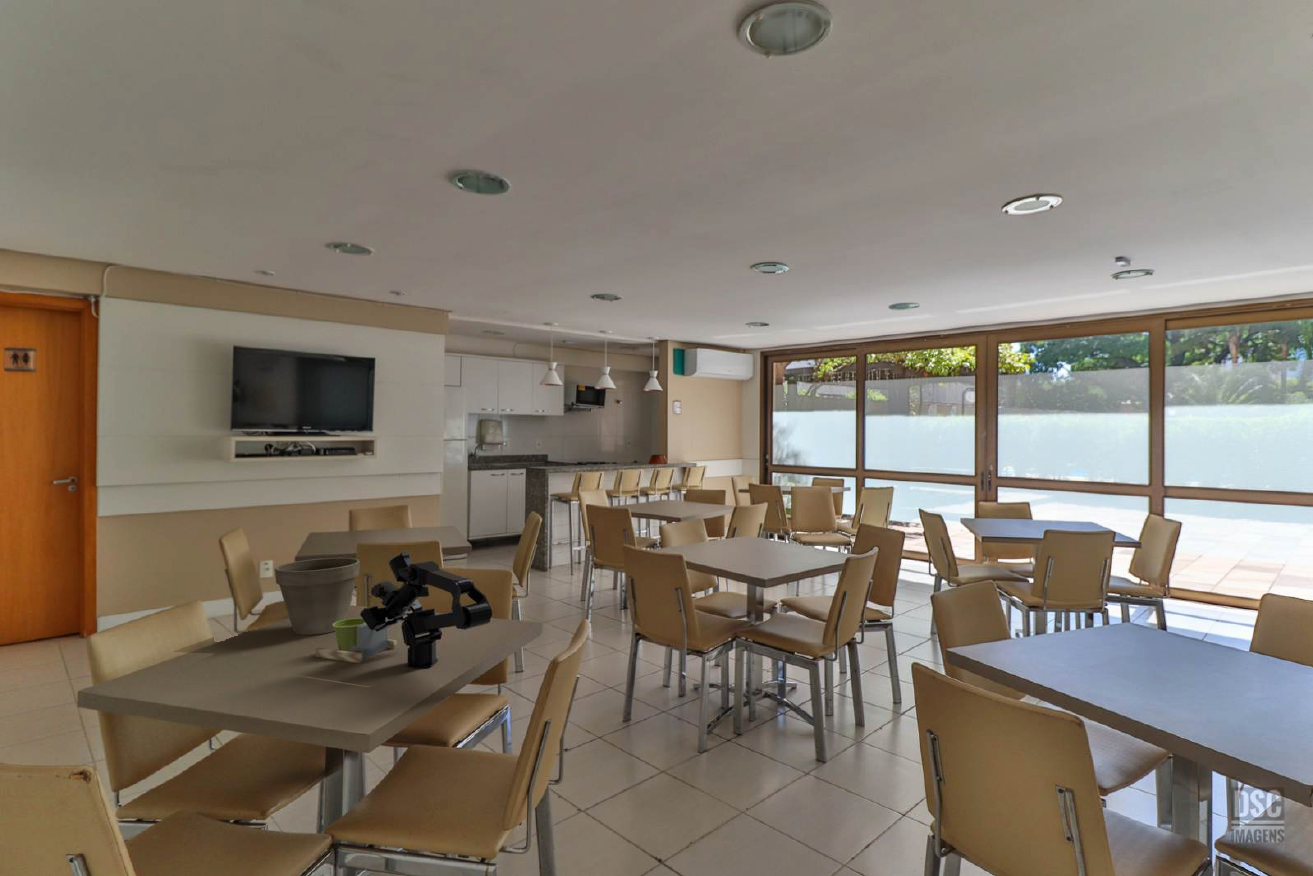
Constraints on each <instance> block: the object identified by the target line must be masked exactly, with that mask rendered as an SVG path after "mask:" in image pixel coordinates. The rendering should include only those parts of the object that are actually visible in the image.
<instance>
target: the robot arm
mask: <svg viewBox="0 0 1313 876" xmlns="http://www.w3.org/2000/svg"><path fill="white" fill-rule="evenodd" d="M388 565H389V568H390V570H391V571H392V573H393V576H394V578H395V580H396V582H397V583H399V582H401V583H402V584H401V586H399V587H398V586H397V585H395V584H394V583H393V582H391V581H387V580H385V581H382V582H378V583H376V584H374V585H373V587H371V591H370V594H371V595H372V596H374V597H375V598H379V599H380V600H382V601H381V602H380V603H381V604H382V606H385V607H382V606H381V607H378V605H371V606H368V607H364V608H363V609H362V610H361V611H360V614H359V616H360V617H361V618H363V620H364V621H365V623H366V624H367V626H368V627H369V628H370V629H371V630H376V632H378V631H381V630H383V629H385V628H387V627H388V628H390V627H392V626H394V625H397V624H398V623H400V622H401V626H400V627H401V632H402V633H401V634H402V639H403V643H404V644H405V646H406V647H408V648H407V665H406V668H413V669H414V668H419V669H420V668H424V669H426V668H431V667H432V666H434V665H435V664H436V663H437V662H438V661H439V658H437V641H440V640H442V636H443V632H442V630H441V629H443V628H451V627H456V629H458V630H464V631H465V630H470V629H473V628H477V627H480V626H481V627H482V626H485V625H489V624H490V622H491V618H492V616H493V610H492V609H493V608H492V607H491V604H490V603H489V600H488V598H487V596H486V595H485V594H484V593H483V592H481V591H480V590H479V589H478V588H477V587H476V586H475V584H474V581H473V580H472V579H471V578H468V577H463V576H460V575H457V574H455V573H451V572H448V571H446V570H442V569H440V565H438V563H437V562H434V561H433V560H427V561H421V562H414V563H413V561H412V558H411V557H410V554H409V551H404V552H400V554H399V555H396V556H395V557H393V558H391V559H390V560H389V562H388ZM429 586H430V587H434V588H436V589H439V590H442V591H445V592H447V593H450V594H451V597H452V601H451V603H452V604H451V611H449V612H444V613H439V614H437V613H436V611H435V608H428V609H423V606H422V604H421V603H420V602H419V600H418V599H419V598H424V597H425V598H426V597H429V596H430V591H429ZM463 595H467V596H468V597H469V598H470V599H471V600H473V602H475V603H471V604H467V605H462V604H461V596H463ZM404 616H405V617H404Z"/></svg>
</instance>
